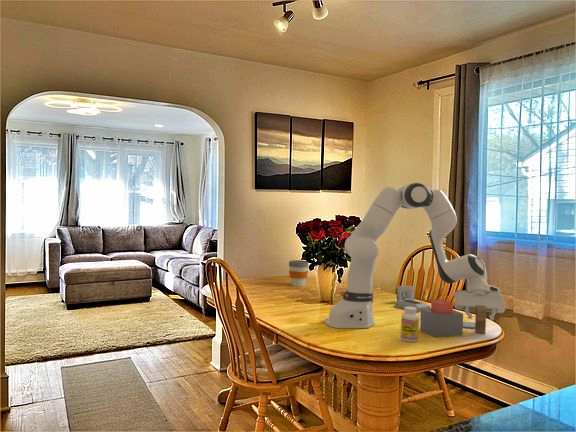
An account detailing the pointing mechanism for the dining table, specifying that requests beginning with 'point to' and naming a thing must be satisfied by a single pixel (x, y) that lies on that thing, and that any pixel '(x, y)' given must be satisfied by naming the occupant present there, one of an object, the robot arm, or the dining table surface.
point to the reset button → (441, 306)
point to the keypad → (411, 304)
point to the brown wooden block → (480, 319)
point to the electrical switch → (405, 293)
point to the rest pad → (469, 325)
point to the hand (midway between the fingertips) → (480, 318)
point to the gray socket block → (441, 323)
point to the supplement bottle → (409, 325)
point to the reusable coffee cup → (298, 272)
